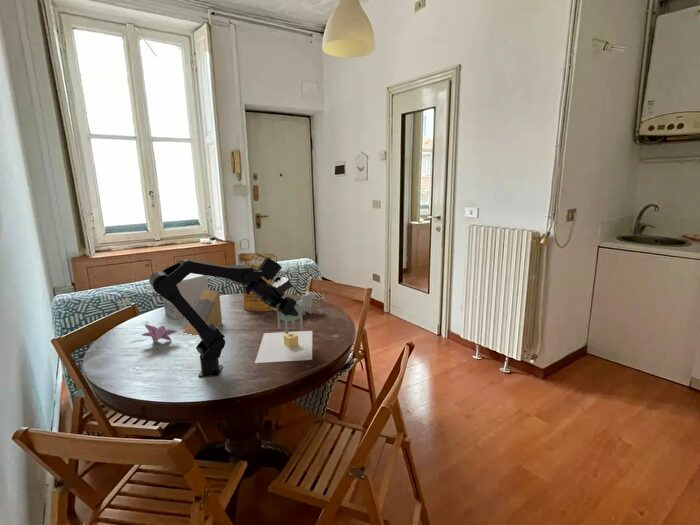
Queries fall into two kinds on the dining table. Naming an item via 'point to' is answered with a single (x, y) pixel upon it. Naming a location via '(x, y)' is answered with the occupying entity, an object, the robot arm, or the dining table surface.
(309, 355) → the white rectangular sheet
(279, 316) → the green hollow square frame
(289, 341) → the plus sign cube
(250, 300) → the pancake mix bag
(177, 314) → the supplement box
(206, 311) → the sandwich container
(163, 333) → the lily
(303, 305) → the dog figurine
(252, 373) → the dining table surface
